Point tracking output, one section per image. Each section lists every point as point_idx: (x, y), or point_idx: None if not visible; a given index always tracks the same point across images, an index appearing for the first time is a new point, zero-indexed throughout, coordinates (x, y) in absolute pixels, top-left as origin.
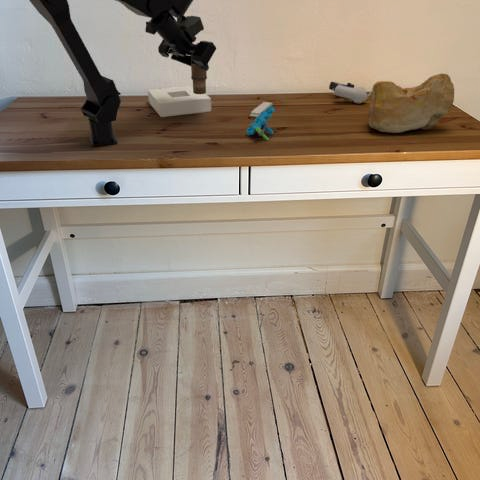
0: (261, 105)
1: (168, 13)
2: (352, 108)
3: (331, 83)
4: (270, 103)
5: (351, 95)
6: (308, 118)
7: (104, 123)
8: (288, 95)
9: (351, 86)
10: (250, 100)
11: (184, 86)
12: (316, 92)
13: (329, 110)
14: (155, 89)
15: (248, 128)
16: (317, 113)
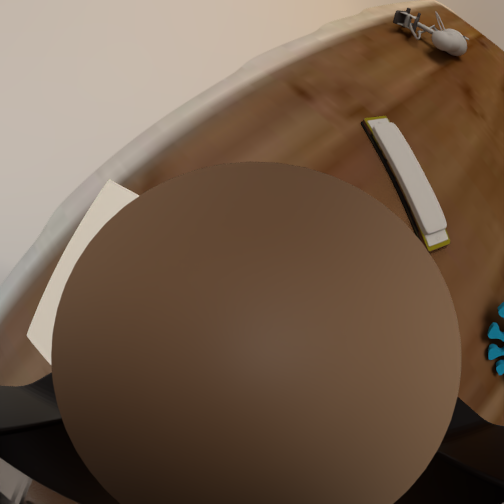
0: (398, 158)
1: None
2: (470, 77)
3: (398, 14)
4: (398, 130)
5: (457, 49)
6: (491, 161)
7: None
8: (336, 49)
9: (419, 16)
10: (296, 113)
11: (85, 215)
12: (357, 24)
13: (467, 98)
14: (36, 314)
15: (493, 349)
16: (474, 123)
